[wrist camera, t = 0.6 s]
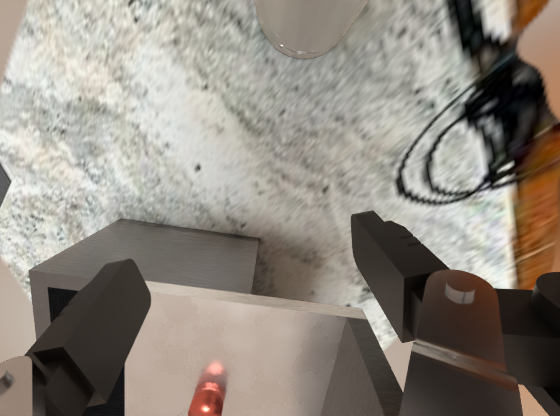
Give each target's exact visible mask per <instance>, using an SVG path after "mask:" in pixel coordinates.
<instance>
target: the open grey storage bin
mask: <svg viewBox="0 0 560 416" xmlns="http://www.w3.org/2000/svg"><path fill="white" fill-rule="evenodd" d="M258 245H259V238H253V237H246V236H239V235H232V234H225V233H218V232H211V231H204V230H197V229H190V228H183V227H176V226H169V225H162V224H155V223H147V222H140V221H133V220H126V219H119V220H118V221H116V222H114V223H112V224H110V225H109V226H107V227H105V228H103V229H102V230H100V231H98V232H96V233H94V234H93V235H91V236H89V237H87V238H85V239H84V240H82V241H80V242H78V243H77V244H75V245H73V246H71V247H69V248H68V249H66V250H64V251H62V252H60V253H59V254H57V255H55V256H53V257H51V258H50V259H48V260H46V261H44V262H43V263H41V264H39V265H37V266H35V267H34V268H32V269H30V270H29V276H30V285H31V295H32V304H33V313H34V321H35V331H36V340H38V339H39V337H40V336H41V335H42V334H43V333H44V332H45V330H46V329H47V328H48V327H49V326H50V324H51V323H52V322H53V321H54V320H55V319H56V317H59V316H60V315H59V314H60V313H61V311H62V310H63V309H64V308H65V307H66V306H68V303H69V302H70V301H71V300H72V298H73V297H74V296H75V295H76V294H77V293H78V291H80V290H81V289H82V288H83V287H85V286H86V285H87V284H88V283H90V282H91V281H92V280H93V278H94V277H95V276H96V275H97V273H98V272H99V271H100V270H101V269H102V267H103V266H104V265H105V264H106V263H109V262H114V261H119V260H124V259H132V260H134V262H135V263H136V265H137V267H138V269H139V271H140V273H141V275H142V277H143V279H144V281H151V282H159V283H167V284H174V285H182V286H190V287H198V288H205V289H213V290H221V291H229V292H236V293H244V294H251V292H252V285H253V278H254V272H255V265H256V258H257V251H258ZM82 416H125V364H124V366H123V368H122V370H121V372H120V374H119V377H118V379H117V381H116V383H115V385H114V388H113V390H112V392H111V394H110V396H109V398H108V401H107V403H104V404H100V405H95V406H90V407H86V408H85V410H84V412H83V414H82Z"/></svg>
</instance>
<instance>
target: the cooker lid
mask: <svg viewBox="0 0 560 416" xmlns="http://www.w3.org/2000/svg"><path fill="white" fill-rule="evenodd" d="M145 283H146V285H147V287H148V289H149V291H150V294H151V306H150V309H149V311H148V314H147V316H146V318H145V320H144V322H143V324H142V327H141V329H140V331H139V333H138V335H137V337H136V340H135V342H134V344H133V346H132V348H131V351H130V353H129V355H128V357H127V359H126V361H125V416H399V414H400V408H401V403H402V398H403V392H402V390H401V388H400V386H399V384H398V382H397V380H396V377H395V375H394V373H393V371H392V369H391V367H390V365H389V363H388V361H387V359H386V357H385V355H384V353H383V351H382V349H381V347H380V345H379V343H378V340H377V338H376V336H375V334H374V332H373V330H372V328H371V326H370V324H369V322H368V320H367V318H366V316H365V314H364V312H363V310H362V309H360V308H352V307H345V306H337V305H329V304H321V303H314V302H306V301H298V300H291V299H283V298H275V297H267V296H260V295H252V294H244V293H236V292H229V291H221V290H213V289H205V288H198V287H190V286H182V285H174V284H167V283H159V282H151V281H145Z"/></svg>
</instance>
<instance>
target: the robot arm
mask: <svg viewBox="0 0 560 416" xmlns="http://www.w3.org/2000/svg"><path fill="white" fill-rule="evenodd" d="M254 1H255V7H256V13H257V17H258V21H259V24H260V26H261V29H262V31H263V33H264V35H265V36H266V38H267V39H268V40H269V42H270V43H271V44H272V45H273V46H274V47H275V48H276V49H277V50H279V51H280V52H282V53H284V54H286V55H288V56H291V57H294V58H302V59H308V58H314V57H318V56H320V55H322V54H325V53H326V52H328V51H329V50H331V49H332V48H333V47H335V46H336V44H337V43H338V42H339V41H340V40H341V39H342V38H343V36H344V35H345V33H346V32H347V31H348V29H349V28H350V26H351V25H352V24H353V22H354V21H355V20H356V18H357V17H358V15H359V14H360V12H361V11H362V10H363V8H364V7H365V5H366V4H367V3H368V1H369V0H254ZM351 233H352V248H353V255H354V259H355V262H356V265H357V267H358V269H359V270H360V272H361V274H362V276H363V277H364V279H365V281H366V282H367V284H368V286H369V288H370V289H371V291H372V293H373V294H374V296H375V298H376V300H377V301H378V303H379V305H380V306H381V308H382V310H383V311H384V313H385V315H386V317H387V318H388V320H389V322H390V323H391V325H392V327H393V329H394V330H395V332H396V334H397V335H398V337H399V339H400V341H401V342H402V343H405V342H410V341H414V340H415V342H414V343H413V346H412V350H411V355H410V361H409V366H408V371H407V377H406V382H405V387H404V392H403V398H402V403H401V408H400V414H399V416H523V412H522V405H521V399H520V392H519V387H518V384H521V385H524V386H525V387H526V388H527V389H528V391H529V392H530V393H531V394H532V396H533V397H534V398H535V399H536V400H537V402H538V403H539V404H540V405H541V406H542V407H543V409H544V410H545V411H546V412H547V413H548V415H549V416H560V272H551V273H546V274H543V275H541V276H540V277H538V279H537V280H536V284H535V287H534V290H518V289H497V288H493V287H492V286H491V285H490V284H489V283H488V282H487V281H485V280H484V279H482V278H480V277H479V276H476V275H474V274H472V273H468V272H465V271H461V270H450V269H449V268H448V267H447V266H446V265H445V264H444V263H443V262H442V261H441V260H440V259H439V258H437V257H436V256H435V255H434V254H433V253H432V252H431V251H430V250H429V249H428V248H427V247H426V246H424V245H423V244H421V242H420V241H419V240H418V239H417V238H416V237H413V235H412V234H411V233H410V232H409V231H408V230H407V229H406V228H405V227H404V226H402V225H399V224H397V223H395V222H392V221H386V222H384V221H383V220H382V219H381V218H380V217H379V216H378V215H377V214H376V213H375V212H374V211H367V212H362V213H357V214H352V215H351ZM150 306H151V294H150V291H149V289H148V287H147V285H146V283H145V281H144V279H143V277H142V275H141V273H140V271H139V269H138V267H137V265H136V263H135V262H134V260H132V259H124V260H119V261H114V262H109V263H106V264H105V265H104V266H103V267H102V269H101V270H100V271H99V272H98V273H97V275H96V276H95V277H94V278H93V280H92V281H91V282H90V283H88V284H87V285H86V286H85V287H83V288H82V289H81V290H80V291H78V293H77V294H76V295H75V296H74V297H73V298H72V300H71V301H70V302H69V303H68V306H66V307H65V308H64V309H63V310H62V311H61V313H60V314H59V315H60V316H59V317H56V319H55V320H54V321H53V322H52V323H51V324H50V326H49V327H48V328H47V329H46V330H45V332H44V333H43V334H42V335H41V336H40V337H39V339H38V340H37V341H36V342H35V344H34V345H33V346H32V347H31V348H30V349H29V350H28V352H27V353H26V354H25V355H24V356H19V357H15V358H12V359H9V360H6V361H4V362H2V363H0V416H82V414H83V412H84V410H85V408H86V407H90V406H95V405H100V404H104V403H107V401H108V398H109V396H110V394H111V392H112V390H113V388H114V385H115V383H116V381H117V379H118V377H119V374H120V372H121V370H122V368H123V366H124V364H125V361H126V359H127V357H128V355H129V353H130V351H131V348H132V346H133V344H134V342H135V340H136V337H137V335H138V333H139V331H140V329H141V327H142V324H143V322H144V320H145V318H146V316H147V314H148V311H149V309H150Z"/></svg>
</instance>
